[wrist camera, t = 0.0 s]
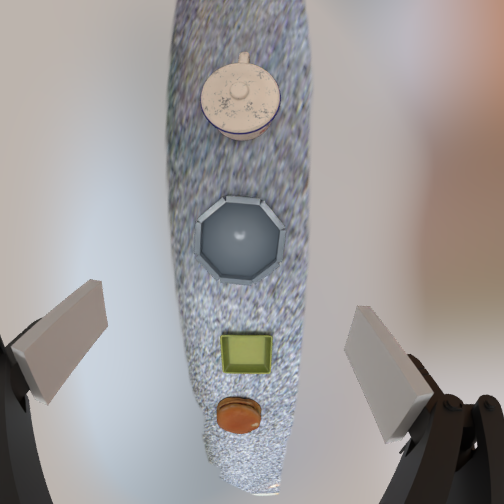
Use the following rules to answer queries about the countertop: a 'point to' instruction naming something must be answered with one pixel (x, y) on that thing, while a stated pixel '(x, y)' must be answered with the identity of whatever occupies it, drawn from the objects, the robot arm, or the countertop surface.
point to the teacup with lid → (240, 99)
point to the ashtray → (239, 240)
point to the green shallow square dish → (246, 354)
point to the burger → (238, 415)
